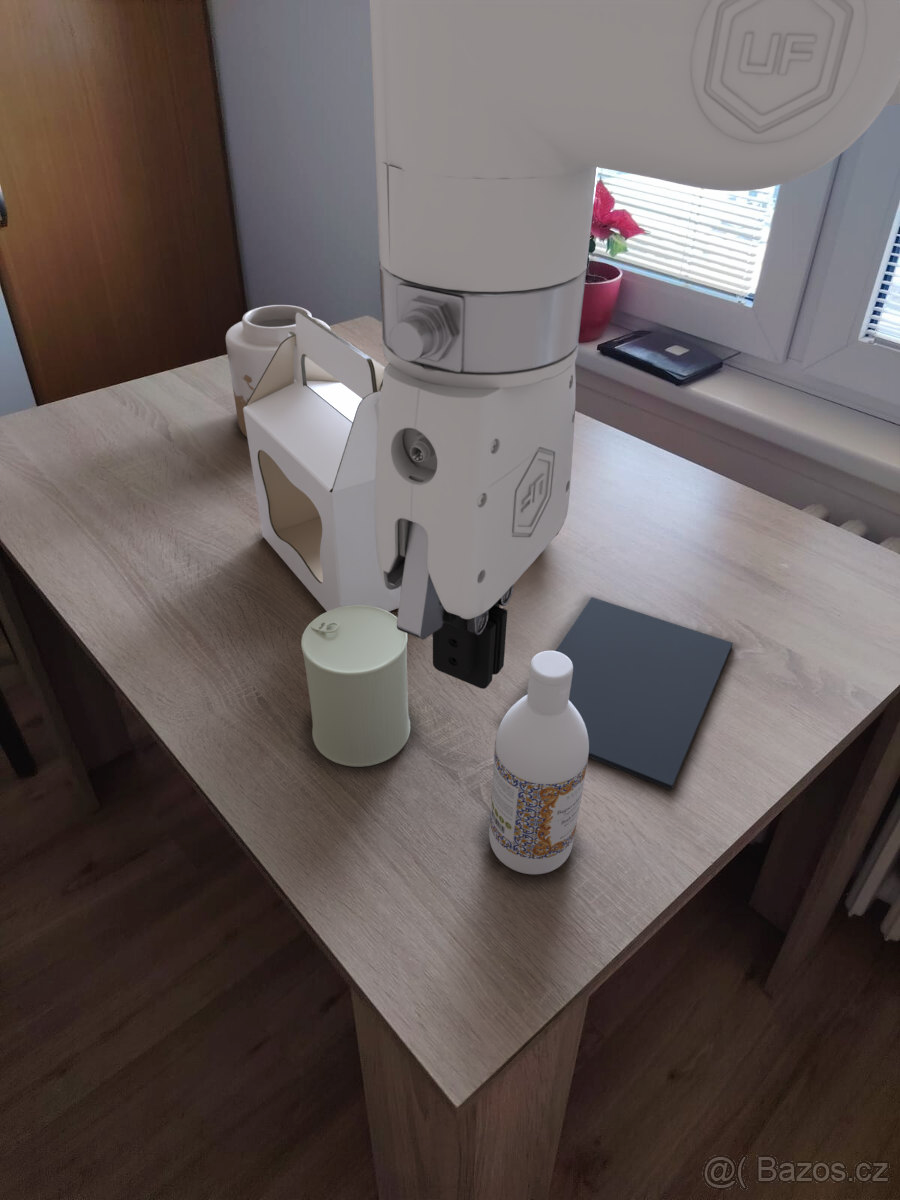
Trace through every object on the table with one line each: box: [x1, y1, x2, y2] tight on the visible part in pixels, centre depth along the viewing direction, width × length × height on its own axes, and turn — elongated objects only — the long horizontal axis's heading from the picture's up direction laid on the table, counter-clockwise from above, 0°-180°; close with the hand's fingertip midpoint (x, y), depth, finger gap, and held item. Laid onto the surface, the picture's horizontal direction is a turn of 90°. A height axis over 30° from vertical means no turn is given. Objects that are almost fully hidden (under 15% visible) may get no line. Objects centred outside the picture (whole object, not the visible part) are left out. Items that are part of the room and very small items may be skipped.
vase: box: [225, 304, 331, 438], centre depth 123 cm, size 15×15×17 cm
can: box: [300, 605, 411, 768], centre depth 74 cm, size 9×9×12 cm
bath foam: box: [488, 650, 590, 875], centre depth 62 cm, size 7×7×20 cm
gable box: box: [243, 312, 401, 613], centre depth 91 cm, size 22×13×28 cm, turn 33°
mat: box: [525, 596, 734, 791], centre depth 83 cm, size 22×16×1 cm
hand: (467, 668), depth 42 cm, fingers closed
